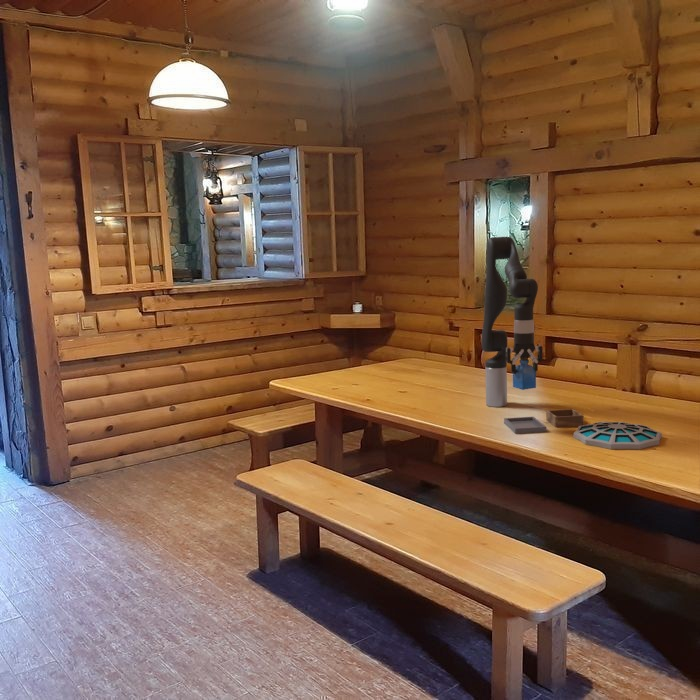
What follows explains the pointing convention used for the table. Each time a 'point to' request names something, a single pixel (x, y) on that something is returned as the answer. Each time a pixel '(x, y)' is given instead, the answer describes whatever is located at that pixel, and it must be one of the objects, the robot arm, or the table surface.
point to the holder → (564, 418)
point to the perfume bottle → (524, 375)
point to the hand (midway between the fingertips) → (524, 373)
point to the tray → (524, 425)
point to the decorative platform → (618, 435)
